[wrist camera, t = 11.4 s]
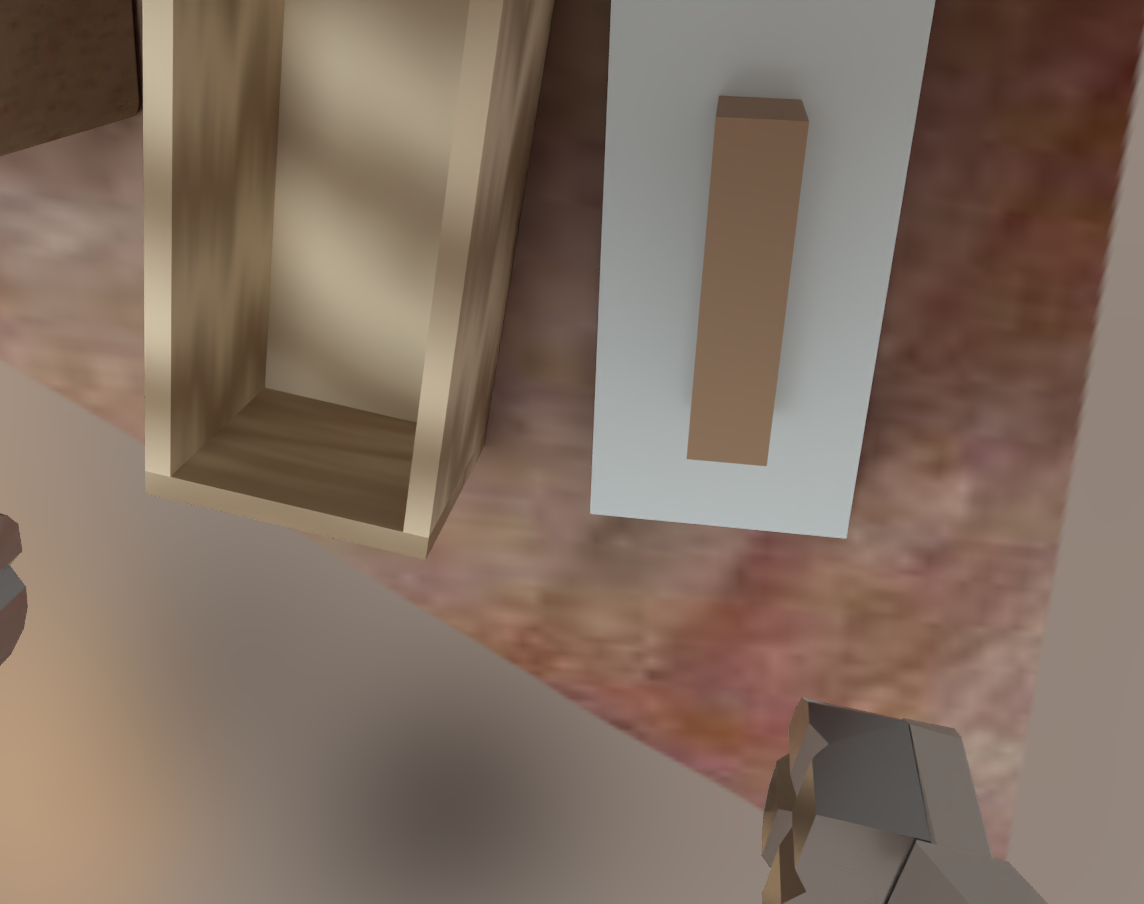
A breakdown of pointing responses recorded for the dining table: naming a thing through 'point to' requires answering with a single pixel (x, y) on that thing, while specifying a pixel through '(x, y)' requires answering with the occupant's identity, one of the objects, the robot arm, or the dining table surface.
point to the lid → (748, 253)
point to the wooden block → (64, 68)
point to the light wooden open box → (330, 252)
